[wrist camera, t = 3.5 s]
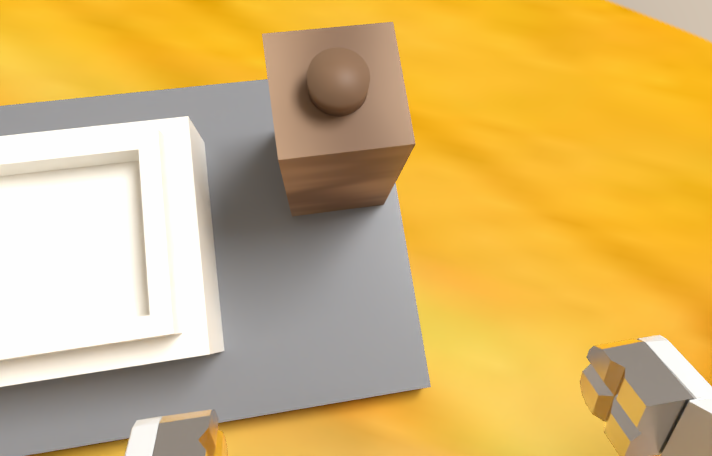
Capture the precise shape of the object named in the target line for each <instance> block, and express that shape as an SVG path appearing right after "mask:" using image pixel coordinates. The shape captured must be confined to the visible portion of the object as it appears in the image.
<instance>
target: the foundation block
mask: <svg viewBox="0 0 712 456" xmlns="http://www.w3.org/2000/svg"><path fill="white" fill-rule="evenodd" d="M222 351H224V342H223V331H222V321H221V310H220V300H219V290H218V279H217V269H216V258H215V248H214V238H213V227H212V217H211V206H210V196H209V186H208V175H207V165H206V154H205V144H204V141H203V139H202V138H201V136H200V135H199V133H198V131H197V130H196V128H195V126H194V125H193V123H192V122H191V120H190V118H189V117H188V116H185V117H176V118H166V119H157V120H148V121H138V122H129V123H119V124H110V125H101V126H91V127H82V128H72V129H63V130H53V131H44V132H35V133H25V134H16V135H6V136H0V387H3V386H9V385H16V384H22V383H29V382H35V381H41V380H48V379H54V378H61V377H67V376H74V375H80V374H86V373H93V372H99V371H106V370H112V369H119V368H125V367H131V366H138V365H144V364H151V363H157V362H164V361H170V360H176V359H183V358H189V357H196V356H202V355H209V354H213V353H218V352H222Z"/></svg>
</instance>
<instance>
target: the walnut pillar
mask: <svg viewBox="0 0 712 456" xmlns="http://www.w3.org/2000/svg"><path fill="white" fill-rule="evenodd" d="M262 36H263V44H264V52H265V60H266V68H267V76H268V84H269V92H270V100H271V108H272V116H273V124H274V132H275V140H276V148H277V156H278V162H279V166H280V170H281V174H282V178H283V182H284V186H285V190H286V194H287V199H288V203H289V207H290V211H291V215H292V216H300V215H308V214H315V213H323V212H331V211H338V210H346V209H354V208H362V207H369V206H377V205H384V203H385V201H386V200H387V198H388V196H389V194H390V192H391V190H392V188H393V186H394V184H395V182H396V180H397V178H398V176H399V175H400V173H401V171H402V169H403V167H404V165H405V163H406V161H407V159H408V157H409V155H410V153H411V151H412V149H413V148H414V146H415V139H414V134H413V128H412V123H411V117H410V112H409V107H408V101H407V96H406V90H405V85H404V79H403V74H402V68H401V63H400V58H399V52H398V47H397V41H396V36H395V30H394V25H393V22H387V23H376V24H365V25H354V26H343V27H332V28H321V29H310V30H299V31H288V32H277V33H266V34H262Z"/></svg>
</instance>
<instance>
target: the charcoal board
mask: <svg viewBox="0 0 712 456" xmlns="http://www.w3.org/2000/svg"><path fill="white" fill-rule="evenodd" d="M185 116H188V117H189V118H190V120H191V122H192V123H193V125H194V126H195V128H196V130H197V131H198V133H199V135H200V136H201V138H202V139H203V141H204V144H205V154H206V165H207V175H208V186H209V196H210V206H211V217H212V227H213V238H214V248H215V258H216V269H217V279H218V290H219V300H220V310H221V321H222V331H223V342H224V351H222V352H218V353H213V354H209V355H202V356H196V357H189V358H183V359H176V360H170V361H164V362H157V363H151V364H144V365H138V366H131V367H125V368H119V369H112V370H106V371H99V372H93V373H86V374H80V375H74V376H67V377H61V378H54V379H48V380H41V381H35V382H29V383H22V384H16V385H9V386H3V387H0V456H26V455H32V454H38V453H44V452H50V451H56V450H62V449H68V448H73V447H79V446H85V445H91V444H97V443H103V442H109V441H115V440H120V439H126V438H129V437H130V433H131V429H132V427H133V426H134V424H135V422H136V421H137V420H142V419H148V418H154V417H161V416H168V415H175V414H182V413H190V412H197V411H204V410H211V409H215V411H216V413H217V416H218V418H219V421H218V423H221V422H226V421H232V420H238V419H244V418H250V417H256V416H262V415H268V414H274V413H279V412H285V411H291V410H297V409H303V408H309V407H315V406H321V405H327V404H332V403H338V402H344V401H350V400H356V399H362V398H368V397H374V396H380V395H385V394H391V393H397V392H403V391H409V390H415V389H421V388H427V387H431V386H430V380H429V374H428V369H427V363H426V357H425V351H424V345H423V340H422V334H421V328H420V322H419V316H418V311H417V305H416V299H415V293H414V287H413V282H412V276H411V270H410V264H409V259H408V253H407V247H406V241H405V235H404V230H403V224H402V218H401V212H400V206H399V201H398V195H397V189H396V183H395V184H394V186H393V188H392V190H391V192H390V194H389V196H388V198H387V200H386V201H385V203H384V205H377V206H369V207H362V208H354V209H346V210H338V211H331V212H323V213H315V214H308V215H300V216H292V215H291V211H290V207H289V203H288V199H287V194H286V190H285V186H284V182H283V178H282V174H281V170H280V166H279V162H278V156H277V148H276V140H275V132H274V124H273V116H272V108H271V100H270V92H269V84H268V79H266V80H256V81H246V82H236V83H226V84H216V85H206V86H196V87H186V88H176V89H166V90H156V91H146V92H136V93H126V94H116V95H106V96H96V97H86V98H76V99H66V100H56V101H46V102H36V103H26V104H16V105H6V106H0V136H6V135H16V134H25V133H35V132H44V131H53V130H63V129H72V128H82V127H91V126H101V125H110V124H119V123H129V122H138V121H148V120H157V119H166V118H176V117H185Z"/></svg>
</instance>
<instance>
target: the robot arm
mask: <svg viewBox="0 0 712 456" xmlns="http://www.w3.org/2000/svg"><path fill="white" fill-rule="evenodd" d="M587 359H588V360H589V362H590V363H591V364H590V365H589V366H588V367H587V368H586V369H585V370H583V371H582V375H581V380H580V385H581V392H582V396H583V398H584V400H585V403H586V405H587V406H588V408H589V410H590V411H591V413H592V414H593V415H595V416H596V417H598V418H600V419H601V420H603V421H604V422H605V425H604V433H605V434H606V436H607V437H608V439H609V441H610V442H611V444H612V445H613V447H614V448H615V450H616V451H617V453H618V454H619V456H653V455H659V454H661V456H712V387H711V385H710V384H709V383H708V382H707V381H706V380H705V379H704V378H703V377H702V376H701V375H700V374H699V373H698V372H697V371H696V370H695V368H694V367H693V366H692V365H691V364H690V363H689V362H688V361H687V360H686V359H685V358H684V357H683V356H682V355H681V354H680V353H679V351H678V350H677V349H676V348H675V347H674V346H673V345H672V344H671V343H670V342H669V341H668V340H667V339H666V338H664V337H662V336H660V335H657V336H650V337H644V338H639V339H629V340H624V341H618V342H613V343H607V344H601V345H596V346H593V347H592V348H591V349H590V350H589V352H588V355H587ZM218 421H219V418H218V416H217V413H216V411H215V409H211V410H204V411H197V412H190V413H182V414H175V415H168V416H161V417H154V418H148V419H142V420H137V421H136V422H135V424H134V426H133V427H132V429H131V433H130V437H129V441H128V445H127V449H126V452H125V456H228V451H227V444H226V439H225V436H224V433H223V432H222V431H220V430H219V429H218Z"/></svg>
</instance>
